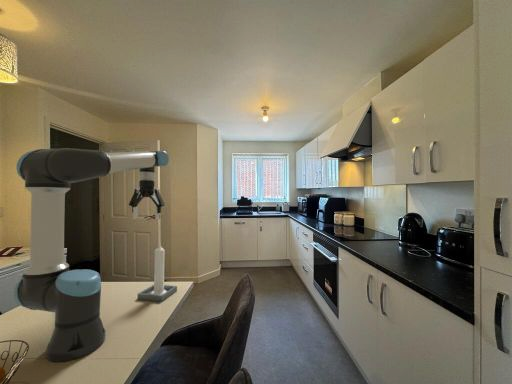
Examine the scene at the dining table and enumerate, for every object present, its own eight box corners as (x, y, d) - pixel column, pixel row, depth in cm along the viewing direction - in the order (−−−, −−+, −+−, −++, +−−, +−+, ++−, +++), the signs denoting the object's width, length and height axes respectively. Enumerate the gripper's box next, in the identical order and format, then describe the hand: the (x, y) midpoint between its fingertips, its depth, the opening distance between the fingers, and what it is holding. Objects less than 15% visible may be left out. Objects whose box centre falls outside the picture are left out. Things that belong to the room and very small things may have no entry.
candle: (162, 296, 111) (164, 244, 112) (148, 296, 111) (149, 244, 112) (168, 291, 118) (169, 242, 119) (155, 290, 118) (156, 241, 119)
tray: (161, 301, 107) (162, 296, 107) (137, 299, 110) (137, 293, 110) (176, 291, 120) (177, 286, 120) (154, 288, 122) (154, 284, 123)
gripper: (171, 180, 127) (170, 219, 126) (132, 180, 132) (131, 218, 132) (163, 179, 120) (162, 220, 119) (122, 179, 125) (121, 219, 124)
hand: (146, 219), depth 125 cm, fingers open, 13 cm apart
